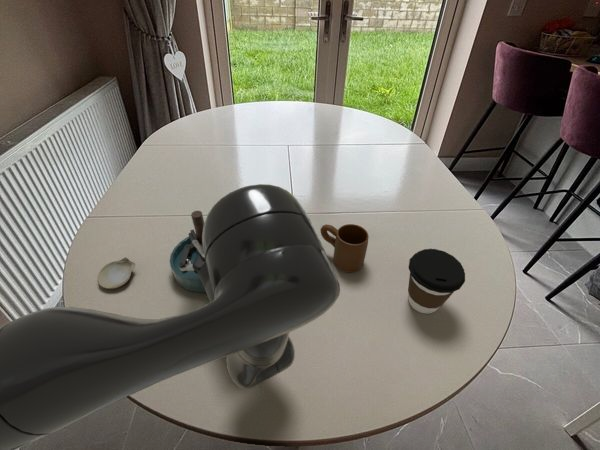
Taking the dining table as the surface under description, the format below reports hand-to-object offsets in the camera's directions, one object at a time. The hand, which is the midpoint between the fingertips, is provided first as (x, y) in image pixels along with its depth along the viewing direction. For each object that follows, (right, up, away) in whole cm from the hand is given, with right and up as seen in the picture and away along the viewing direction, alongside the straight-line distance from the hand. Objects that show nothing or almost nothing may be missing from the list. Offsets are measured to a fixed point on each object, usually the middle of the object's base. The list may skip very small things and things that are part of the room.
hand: (198, 230), depth 74 cm
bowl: (+1, -9, +6) cm, 11 cm away
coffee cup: (+50, -16, 0) cm, 53 cm away
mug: (+33, -7, +9) cm, 35 cm away
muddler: (+1, -8, +4) cm, 9 cm away
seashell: (-20, -11, +3) cm, 23 cm away
